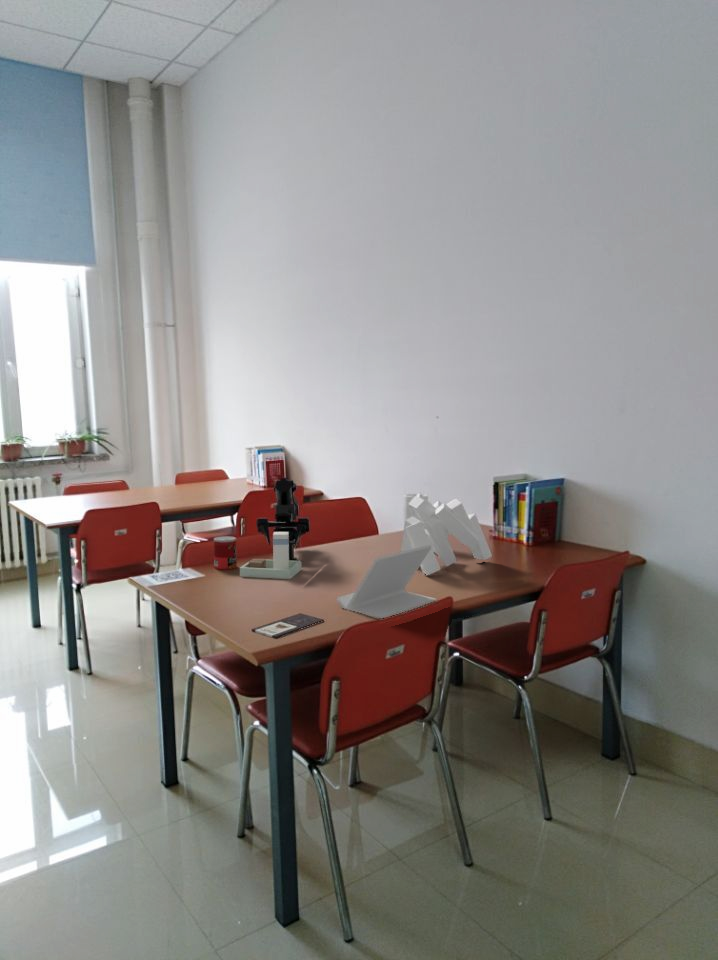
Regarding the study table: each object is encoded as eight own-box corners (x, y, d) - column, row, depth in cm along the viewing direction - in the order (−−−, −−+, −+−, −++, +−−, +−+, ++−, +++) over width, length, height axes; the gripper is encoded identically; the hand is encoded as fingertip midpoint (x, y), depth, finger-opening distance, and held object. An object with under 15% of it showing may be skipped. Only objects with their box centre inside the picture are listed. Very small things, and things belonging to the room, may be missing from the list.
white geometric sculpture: (449, 567, 278) (407, 488, 275) (513, 547, 259) (468, 463, 256) (405, 612, 252) (358, 526, 249) (472, 594, 233) (423, 500, 230)
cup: (399, 545, 292) (399, 493, 290) (423, 544, 295) (424, 493, 292) (407, 551, 282) (407, 497, 280) (431, 549, 285) (432, 496, 282)
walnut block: (253, 570, 249) (253, 558, 248) (265, 570, 248) (265, 559, 247) (248, 573, 244) (248, 562, 243) (261, 574, 243) (261, 562, 243)
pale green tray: (253, 568, 253) (253, 558, 253) (301, 570, 250) (301, 561, 249) (239, 577, 240) (239, 567, 240) (290, 580, 237) (289, 570, 236)
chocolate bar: (323, 619, 193) (275, 636, 180) (323, 623, 193) (275, 640, 180) (300, 613, 199) (251, 629, 185) (300, 616, 199) (251, 632, 185)
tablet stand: (437, 601, 213) (437, 545, 211) (383, 620, 195) (383, 559, 193) (390, 590, 225) (390, 537, 224) (335, 607, 207) (335, 550, 205)
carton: (274, 571, 247) (273, 531, 245) (289, 571, 247) (288, 531, 245) (273, 575, 242) (272, 534, 240) (288, 575, 242) (287, 534, 240)
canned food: (232, 571, 249) (231, 540, 247) (210, 570, 250) (209, 539, 249) (240, 566, 256) (239, 536, 255) (219, 565, 258) (218, 535, 256)
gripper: (256, 495, 253) (253, 532, 244) (309, 495, 254) (308, 532, 244) (259, 513, 262) (256, 549, 253) (310, 513, 263) (309, 549, 253)
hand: (282, 544), depth 250 cm, fingers open, 9 cm apart
